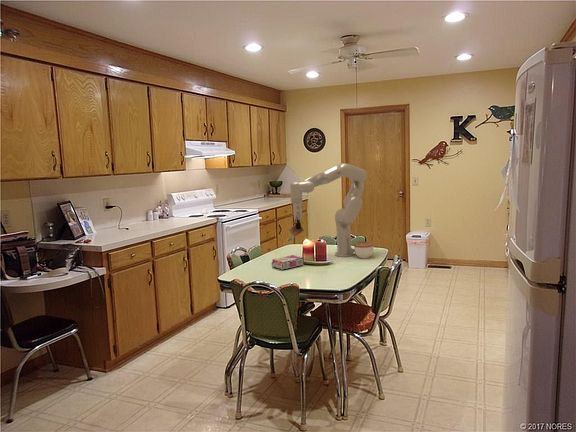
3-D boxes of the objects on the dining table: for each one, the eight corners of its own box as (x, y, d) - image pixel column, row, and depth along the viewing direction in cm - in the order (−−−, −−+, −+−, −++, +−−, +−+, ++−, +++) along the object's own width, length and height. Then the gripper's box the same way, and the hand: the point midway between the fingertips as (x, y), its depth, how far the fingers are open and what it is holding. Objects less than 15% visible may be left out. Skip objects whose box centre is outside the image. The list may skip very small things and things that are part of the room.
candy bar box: (303, 257, 280) (282, 262, 270) (303, 264, 281) (283, 270, 271) (292, 254, 289) (271, 259, 279) (293, 261, 290) (272, 266, 280)
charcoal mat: (295, 261, 294) (295, 260, 294) (297, 266, 279) (297, 265, 279) (271, 262, 293) (271, 262, 293) (272, 268, 279) (272, 267, 279)
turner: (303, 229, 299) (298, 222, 298) (304, 230, 294) (299, 223, 293) (287, 240, 298) (282, 233, 297) (288, 241, 293) (282, 234, 292)
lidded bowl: (372, 254, 301) (372, 238, 299) (374, 259, 288) (374, 242, 287) (353, 255, 302) (353, 239, 301) (354, 259, 290) (354, 243, 288)
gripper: (304, 201, 286) (305, 230, 288) (300, 199, 302) (302, 226, 304) (292, 202, 285) (293, 230, 287) (289, 200, 301) (291, 227, 303)
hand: (298, 228), depth 296 cm, fingers closed on turner, 2 cm apart
